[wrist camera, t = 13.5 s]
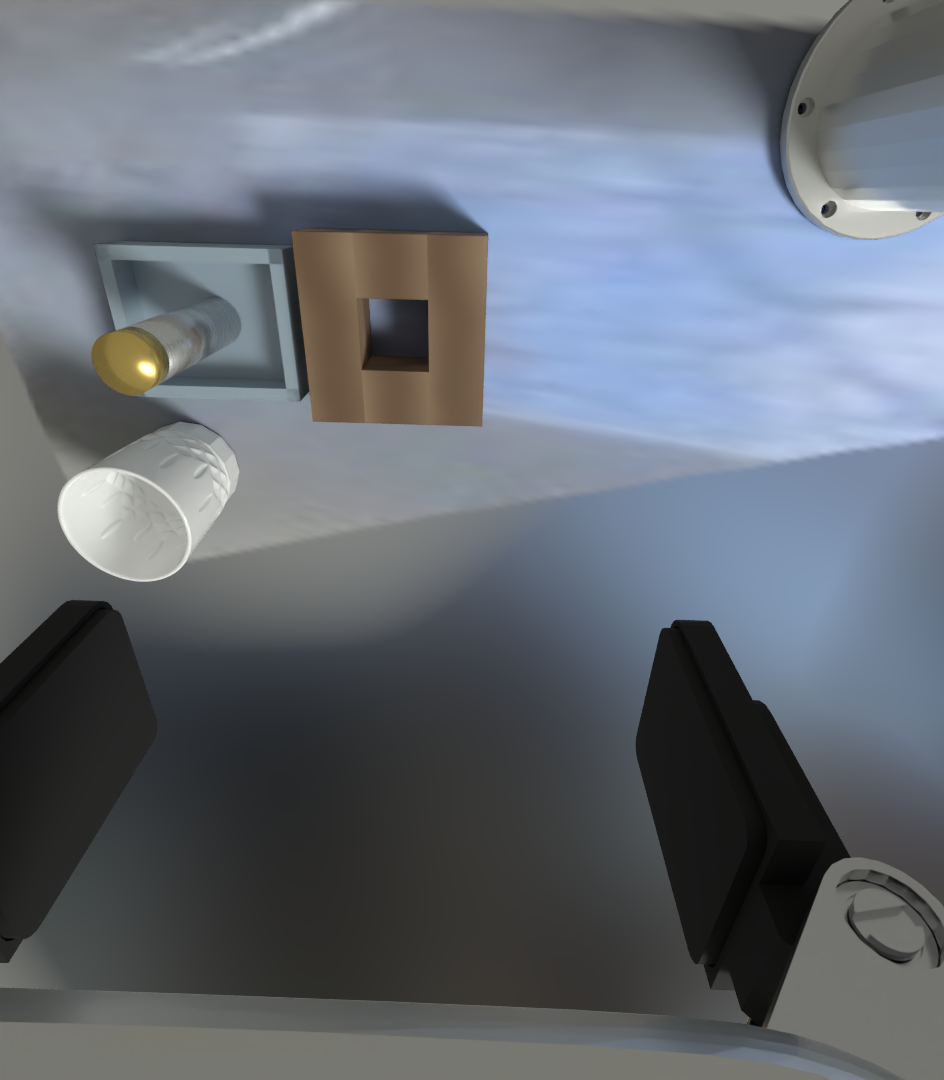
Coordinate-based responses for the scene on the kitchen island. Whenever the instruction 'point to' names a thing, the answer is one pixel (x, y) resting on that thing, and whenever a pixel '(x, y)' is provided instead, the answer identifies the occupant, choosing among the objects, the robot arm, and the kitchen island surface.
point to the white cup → (149, 501)
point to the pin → (164, 345)
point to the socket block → (345, 333)
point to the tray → (239, 278)
